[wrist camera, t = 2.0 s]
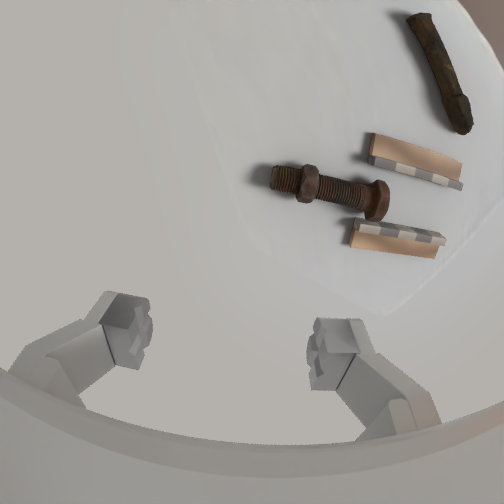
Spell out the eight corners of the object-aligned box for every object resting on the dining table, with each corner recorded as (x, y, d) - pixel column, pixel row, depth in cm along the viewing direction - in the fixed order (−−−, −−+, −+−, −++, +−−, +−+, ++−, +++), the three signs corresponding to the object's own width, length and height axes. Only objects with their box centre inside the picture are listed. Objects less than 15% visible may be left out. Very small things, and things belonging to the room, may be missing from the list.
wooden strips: (372, 132, 32) (379, 134, 29) (458, 161, 32) (467, 165, 30) (348, 243, 39) (353, 251, 37) (431, 255, 39) (438, 262, 37)
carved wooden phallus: (400, 18, 23) (415, 10, 19) (420, 17, 22) (436, 10, 18) (443, 136, 31) (461, 140, 27) (461, 131, 30) (479, 135, 26)
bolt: (272, 166, 36) (373, 190, 37) (266, 201, 36) (370, 224, 36) (277, 149, 31) (392, 179, 31) (270, 189, 30) (390, 217, 31)
